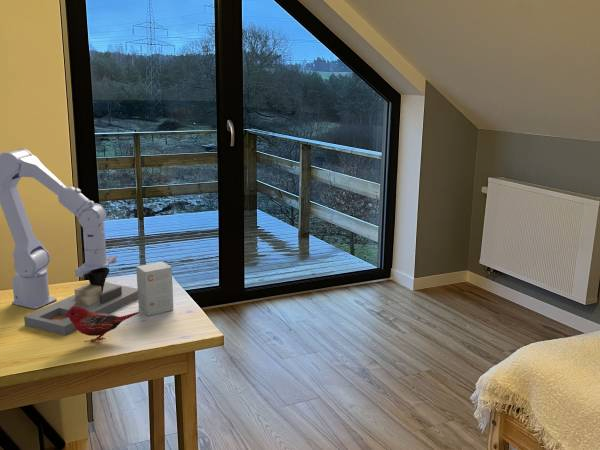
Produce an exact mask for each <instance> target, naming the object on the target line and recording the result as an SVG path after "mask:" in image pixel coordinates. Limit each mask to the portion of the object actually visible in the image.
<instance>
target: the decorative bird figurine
mask: <svg viewBox="0 0 600 450" xmlns="http://www.w3.org/2000/svg"><path fill="white" fill-rule="evenodd" d="M139 313H140V312H139V311H137V312H132V313H128V314H125V315H122V316H117V315H113V314H110V313H109V314H104V313H94V312H89V311H88V310H86V309H84V308H82V307H78V306H73V307H71V308H70V309H69V311H68V313H67V314H66V315H65V316H67V317H69V318H70V321H71V322H72V323H73V325H74V326H75V328H76V329H77V331H78V332H79V333H81V334H83V335H86V336H90V337H95V338H92V339H90V340H89V339H88V340H85V341H83V342H87V343H88V342H91V343H96V342H98V341H103V340H106V339H107V338H105V337H103V336H104V335H105V334H108V332H111V331H113V330H115V329H116V328H117V327H118V326H119V325H120V324H121V323H122V322H124V321H126V320H128V319H130V318H132V317H134V316H137V315H138V314H139ZM65 316H64V317H65Z"/></svg>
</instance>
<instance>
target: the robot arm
mask: <svg viewBox="0 0 600 450" xmlns="http://www.w3.org/2000/svg"><path fill="white" fill-rule="evenodd" d="M22 178H33V179H34V180H36V181H37V182H39V183H40V184H42V185H43V186H44V187H46V188H47V189H48V190H49V191H51V192H52V193H53V194H55V195H56V196H57V200H58V202H59V203H60V204H61V205H62V206H63V207H64V208H65V209H67V211H69V212H71V214H73V215H74V216H76V218H77V220H78V223H79V225H80V226H81V228H82V231H83V232H82V234H83V236H82V237H83V247H84V263H83V264H82V265H80V266H79V267H77V268H75V269H74V276H75V277H79V278H82V277H83V276H85V277H86V278H87V280H88V282H89V283H90V284H92V285H97V286H101V290H102V292H103V287H104V283H105V282H106V279H107V277H108V275H109V273H110V268H109V267H110V265H112V264H116V263H117V255H116V256H114V255H108V256H107V246H106V232H105V221H106V219H107V215H108V213H107V211H106V209H105V207H103V205H102V204H99V203H95V201H93V200H90V199H89V198H88V197H86V196H85V195H84V194H83V193H82V189H80V188H79V187H77V188H75V187H74V186H67V185H65V184H64V183H63V182H62V181H61V180H60V179H59V178H58V177H57V176H56V175H55V174H54V173H53V172H51V171H50V170H49V169H48V168H47V167H46V166H45V165H44V164H43V163H42V162H41V161H40V159H39V158H38V157H37V156H36V155H34V154H32V152H31V151H29V150H28V149H26V148H17V149H16V150H12V151H5V152H1V153H0V207H1V210H2V212H3V216H4V218H5V220H6V223H7V226H8V228H9V231H10V233H11V236H12V239H13V241H14V242H13V243H14V248H13V251H12V255H13V260H14V262H13V267H14V271H15V272H16V273H15V274H14V276H13V278H12V283H11V284H12V292H13V301H11V304H13V305H15V306H16V305H17V306H21V307H24V308H30V309H35V310H36V309H39V308H41V307H44V306H46V305H49V304H51V303H53V302H56V301H57V300H58V298H57V297H52V296H50V287H49V276H48V267H47V266H48V265H49V263H50V261H51V255H50V252H49V251H48V250H47V249H46V248H45V247H44V245H43V243H42V241H41V240H39V239H38V238H36V236H35V235H36V234H35V232H34V230H33V228H32V224H31V222H30V220H29V219H30V218H29V217H28V214H27V211H26V208H25V206H24V203H23V199H22V197H21V195H20V191H19V190H18V187H17V185H18V184H19V182H20V181H21V179H22Z"/></svg>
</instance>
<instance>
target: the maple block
mask: <svg viewBox="0 0 600 450" xmlns="http://www.w3.org/2000/svg"><path fill="white" fill-rule="evenodd" d="M100 294H102V290H101V286H97V285H92V284H89V283H86V284H84V285H81V286H78V287H76V288H75V289H74V295H75V301H76V303H80V304H84V305H89V306H90V305H92V304H94V303H96V302H98V301H100V299H99V295H100Z"/></svg>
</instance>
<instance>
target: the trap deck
mask: <svg viewBox="0 0 600 450" xmlns="http://www.w3.org/2000/svg"><path fill="white" fill-rule="evenodd" d="M88 284H90V282H89V283H88ZM99 299H100V301H98V302H96V303H94V304H92V305H90V306H89V305H84V304H80V303H76V301H75V294H74V295H71V296H69V297H66V298H64V299H62V300H60V301H57V302H55V303H52V304H50V305H47V306H45V307H43V308H41V309H38V310H36V311H33V312H31V313H29V314H26V315H25V316H23V322H24V326H25V327H30V328H34V329H37V330H42V331H46V332H50V333H53V334H56V335H61V336H67V335H69V334H71V333H73V332H76V330H77V329H76V328H75V326H74V325H73V323H72V322H71V321H70V318H69V317H67V316H65V315H66V314H67V313H68V311H69V309H70V308H71V307H73V306H78V307H82V308H84V309H86V310H88V311H89V312H94V313H104V314H110V313H113V312H115V311H117V310H119V309H120V308H122V307H125V306H127V305H128V304H130V303H133V302H134V301H136V300H138V287H137V288H136V287H131V286H127V285H126V286H125V285H121V284H118V283H117V284H116V283H112V282H106V281H105V283H104V287H103V292H102V294H100V295H99ZM64 316H65V317H64ZM77 331H78V330H77Z"/></svg>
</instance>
